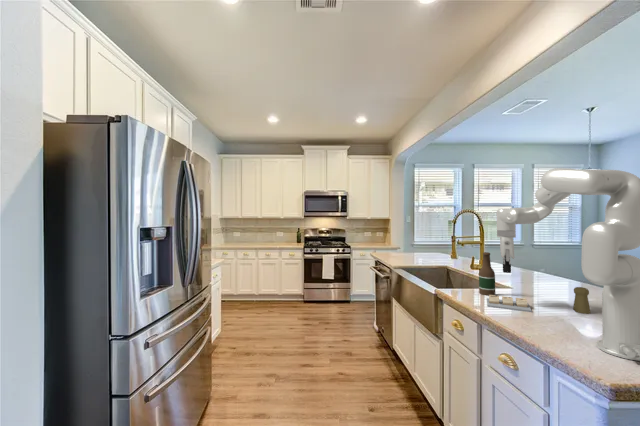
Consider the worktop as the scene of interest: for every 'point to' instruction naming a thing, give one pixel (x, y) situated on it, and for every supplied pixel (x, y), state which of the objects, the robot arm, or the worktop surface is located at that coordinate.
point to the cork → (581, 300)
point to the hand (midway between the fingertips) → (506, 272)
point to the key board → (514, 307)
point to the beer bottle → (486, 277)
